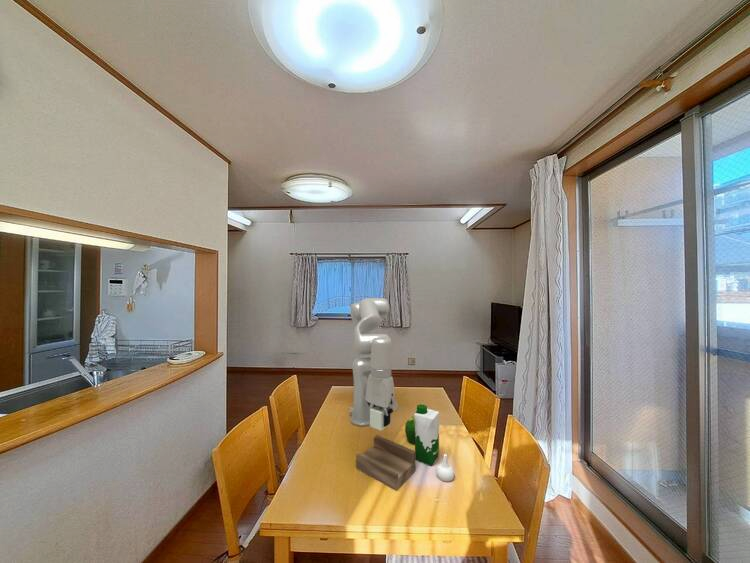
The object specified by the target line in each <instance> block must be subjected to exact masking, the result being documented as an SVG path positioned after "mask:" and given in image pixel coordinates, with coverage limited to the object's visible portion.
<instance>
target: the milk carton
mask: <svg viewBox="0 0 750 563" xmlns="http://www.w3.org/2000/svg"><path fill="white" fill-rule="evenodd" d="M413 416H414V418H415V444H414V451H416V461H417V462H419V463H422V464H425V465H427V466H430V467H432V466H434V464H435V462H436V461H437V459H439V458H438V457H439V452H440V451H439V450H440V449H439V447H440V411H437V410H434V409H430V408H428V406H427V405H425V404H418V405H416V411H415V412H414V414H413Z"/></svg>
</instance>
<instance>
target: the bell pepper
mask: <svg viewBox="0 0 750 563" xmlns="http://www.w3.org/2000/svg"><path fill="white" fill-rule="evenodd" d="M411 418H412V419H411V420H410V419H408V420H407V421H406V423H405V426H404V429H405V430H404V432H405V437H406V439H407V441H408V443H410V444H413V445H415V418H414V415H411Z"/></svg>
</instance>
